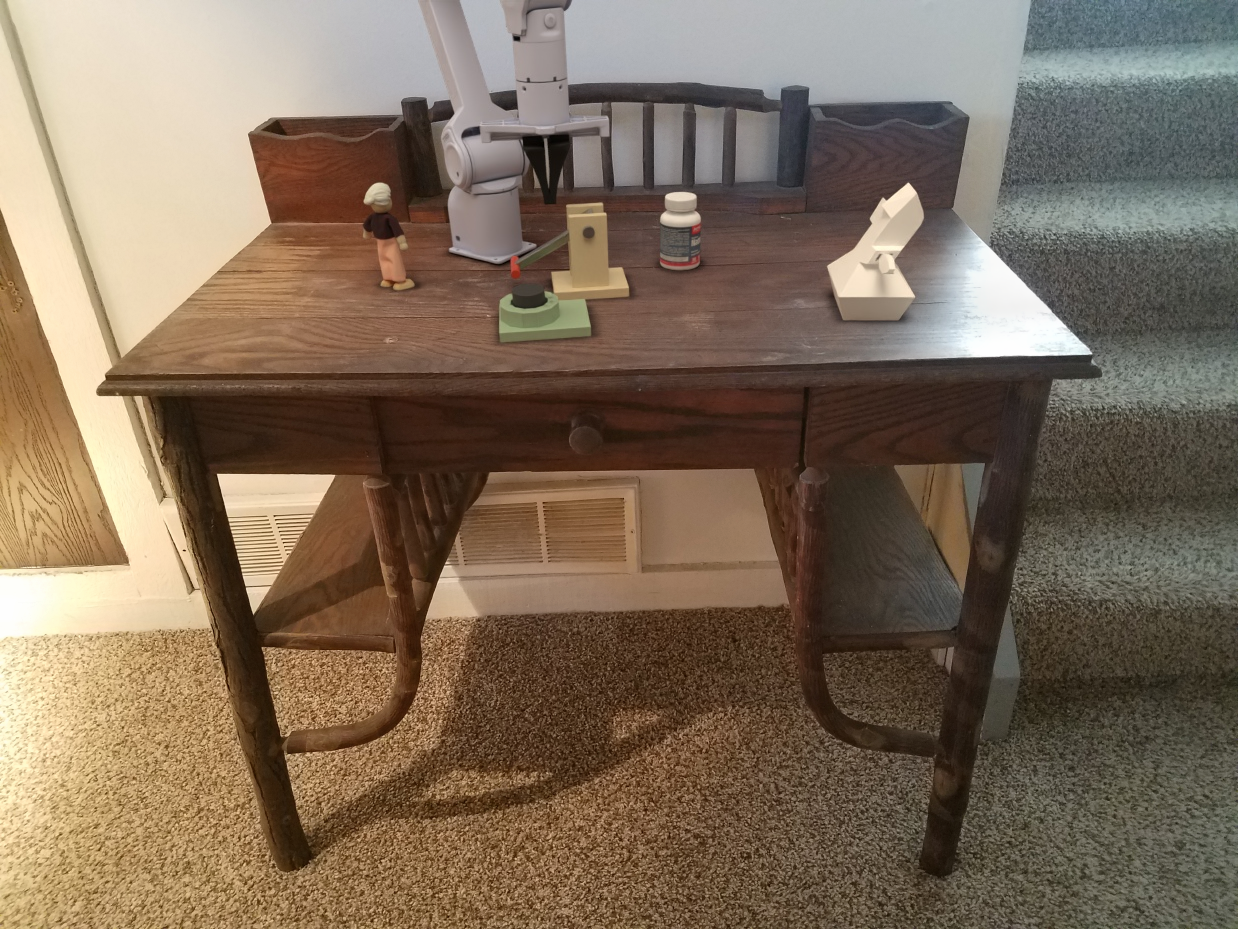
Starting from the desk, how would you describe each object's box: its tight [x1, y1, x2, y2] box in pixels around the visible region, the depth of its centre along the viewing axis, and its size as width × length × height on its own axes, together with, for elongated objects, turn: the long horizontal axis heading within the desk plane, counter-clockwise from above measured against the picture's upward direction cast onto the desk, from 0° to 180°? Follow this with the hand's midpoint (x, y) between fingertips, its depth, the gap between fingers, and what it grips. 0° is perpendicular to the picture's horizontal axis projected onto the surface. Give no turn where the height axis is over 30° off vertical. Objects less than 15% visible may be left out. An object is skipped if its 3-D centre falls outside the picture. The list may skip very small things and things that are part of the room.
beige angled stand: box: [826, 182, 925, 321], centre depth 96 cm, size 8×14×14 cm, turn 176°
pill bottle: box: [659, 191, 702, 272], centre depth 111 cm, size 5×5×9 cm
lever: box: [510, 208, 594, 280], centre depth 104 cm, size 12×5×2 cm, turn 96°
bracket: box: [550, 202, 630, 301], centre depth 105 cm, size 9×7×10 cm
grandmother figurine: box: [362, 182, 416, 291], centre depth 107 cm, size 8×4×13 cm, turn 65°
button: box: [511, 283, 545, 309], centre depth 97 cm, size 4×4×2 cm
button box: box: [498, 291, 592, 343], centre depth 98 cm, size 10×8×3 cm
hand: (550, 202), depth 103 cm, fingers closed
